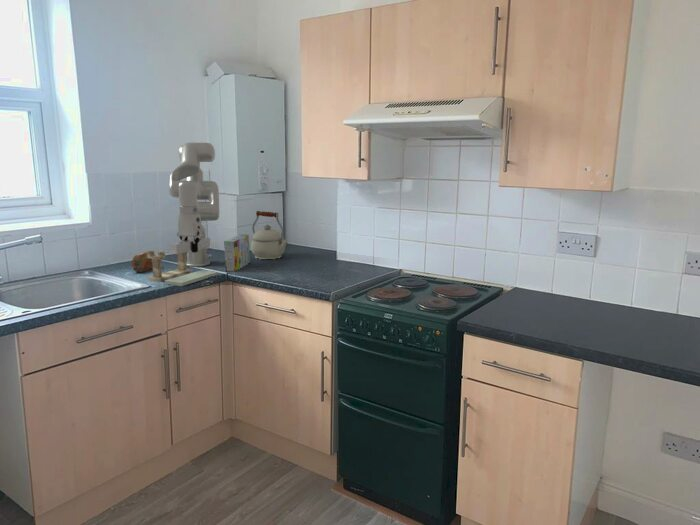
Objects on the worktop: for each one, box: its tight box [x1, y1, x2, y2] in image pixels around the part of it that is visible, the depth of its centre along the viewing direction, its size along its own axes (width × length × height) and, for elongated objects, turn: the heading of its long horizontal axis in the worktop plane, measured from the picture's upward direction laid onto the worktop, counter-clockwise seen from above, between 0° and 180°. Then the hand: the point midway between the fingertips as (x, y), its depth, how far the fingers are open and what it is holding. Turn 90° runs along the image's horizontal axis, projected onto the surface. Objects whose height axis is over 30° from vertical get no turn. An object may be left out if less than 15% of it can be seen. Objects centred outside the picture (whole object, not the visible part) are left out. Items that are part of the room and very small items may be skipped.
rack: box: [146, 249, 192, 283], centre depth 247 cm, size 20×7×13 cm, turn 156°
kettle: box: [250, 210, 289, 260], centre depth 292 cm, size 25×18×25 cm
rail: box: [168, 237, 211, 255], centre depth 240 cm, size 22×4×4 cm, turn 156°
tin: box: [131, 251, 153, 273], centre depth 260 cm, size 15×3×8 cm, turn 168°
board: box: [164, 269, 218, 287], centre depth 243 cm, size 24×9×2 cm, turn 156°
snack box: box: [223, 233, 251, 272], centre depth 269 cm, size 21×6×15 cm, turn 171°
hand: (190, 251), depth 241 cm, fingers closed on rail, 4 cm apart
